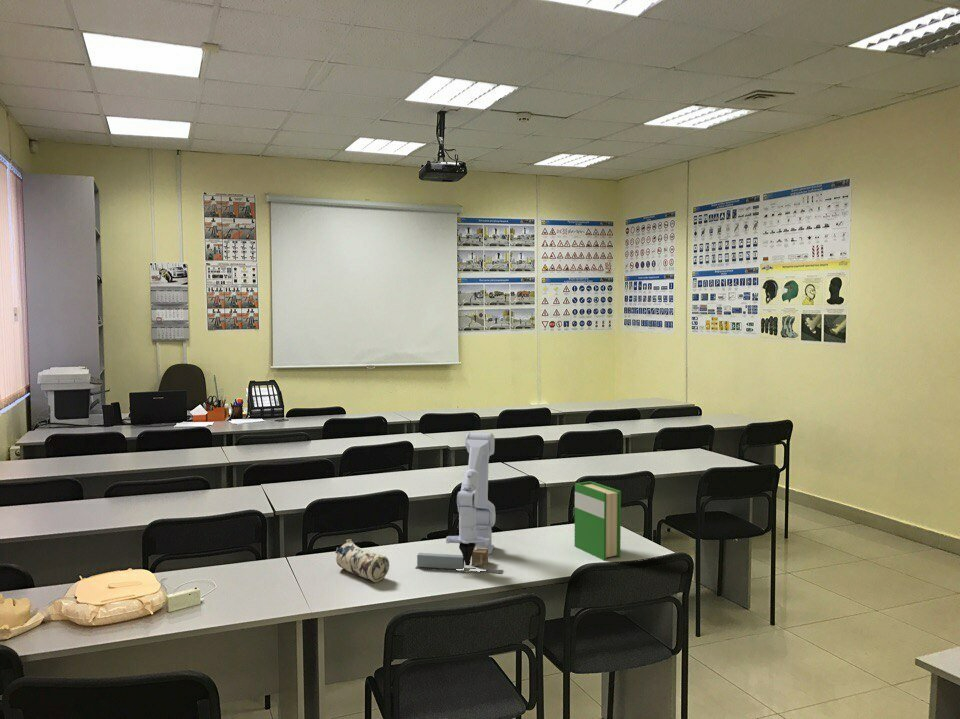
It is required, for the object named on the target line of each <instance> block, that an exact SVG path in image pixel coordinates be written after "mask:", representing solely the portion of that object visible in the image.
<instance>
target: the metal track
mask: <svg viewBox="0 0 960 719" xmlns="http://www.w3.org/2000/svg"><path fill="white" fill-rule="evenodd" d="M415 568H420V569H419V570H432V569H436V570H435V571H448V570H456V569H451V568H434V567H418V566H417V565H416V567H415ZM470 569H476V568H475V567H464V571H469V570H470ZM486 569H487V570H486V571H480V572H479V573H481V572H487V573H486V574H498V575H501V574H503V572H504V569H495V568H493V569H492V568H486ZM464 571H463V572H464ZM455 572H458V571H457V570H456V571H455ZM475 573H478V572H477V571H476V572H475Z"/></svg>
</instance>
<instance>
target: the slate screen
mask: <svg viewBox="0 0 960 719" xmlns="http://www.w3.org/2000/svg"><path fill="white" fill-rule="evenodd" d="M416 559H417V560H416V562H417V564H416V566H418V567H434V568H451V569H463V568H465V561H464V557H463V555H462V554H447V553H445V554H444V553H429V552H427V553H425V552H418V554H417V556H416Z"/></svg>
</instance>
